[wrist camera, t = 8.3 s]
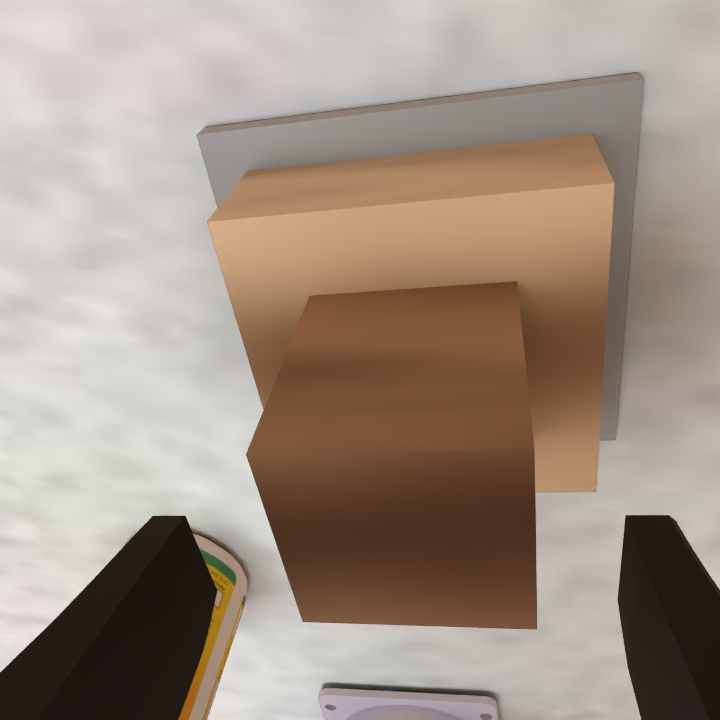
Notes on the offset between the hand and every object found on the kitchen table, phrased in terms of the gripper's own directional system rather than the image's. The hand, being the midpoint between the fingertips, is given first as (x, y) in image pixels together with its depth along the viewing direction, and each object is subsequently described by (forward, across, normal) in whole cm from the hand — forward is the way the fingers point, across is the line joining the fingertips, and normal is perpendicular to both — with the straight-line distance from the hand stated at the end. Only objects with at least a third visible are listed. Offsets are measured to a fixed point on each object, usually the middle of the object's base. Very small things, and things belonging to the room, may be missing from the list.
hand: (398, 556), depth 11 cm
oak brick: (+8, 0, 0) cm, 8 cm away
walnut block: (+5, 0, 0) cm, 5 cm away
